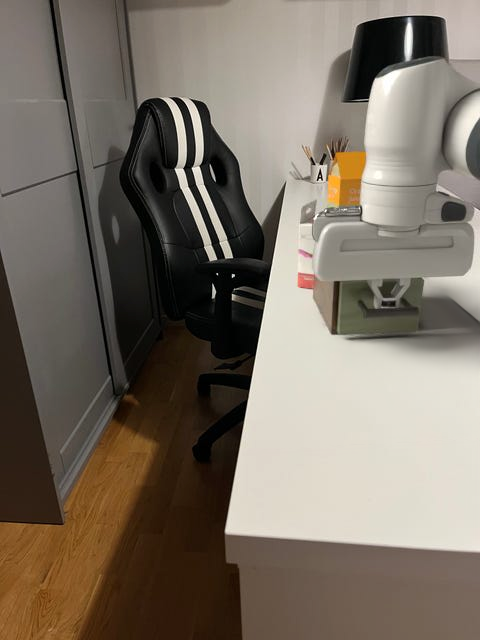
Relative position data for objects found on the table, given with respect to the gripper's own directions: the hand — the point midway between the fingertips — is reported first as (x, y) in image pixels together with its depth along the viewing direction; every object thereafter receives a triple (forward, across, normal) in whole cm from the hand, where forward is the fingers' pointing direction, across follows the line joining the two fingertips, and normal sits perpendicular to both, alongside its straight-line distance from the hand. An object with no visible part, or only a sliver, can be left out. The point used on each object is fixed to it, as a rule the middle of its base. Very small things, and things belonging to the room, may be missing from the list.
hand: (385, 307), depth 68 cm
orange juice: (+6, +10, +59) cm, 60 cm away
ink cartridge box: (+6, -4, +27) cm, 28 cm away
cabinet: (+6, 0, +11) cm, 13 cm away
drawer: (+5, 0, +6) cm, 8 cm away
